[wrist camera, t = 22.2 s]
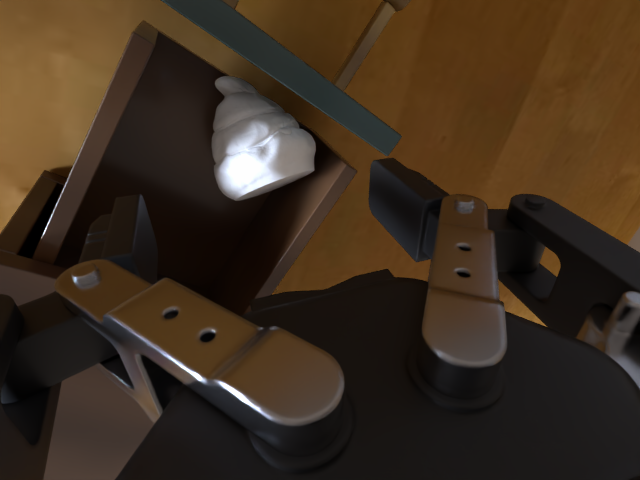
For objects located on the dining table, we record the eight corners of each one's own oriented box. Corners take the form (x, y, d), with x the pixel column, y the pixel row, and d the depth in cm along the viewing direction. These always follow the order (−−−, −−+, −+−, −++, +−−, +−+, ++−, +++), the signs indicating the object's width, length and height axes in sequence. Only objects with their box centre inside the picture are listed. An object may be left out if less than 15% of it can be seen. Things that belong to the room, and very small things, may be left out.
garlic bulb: (229, 102, 24) (300, 57, 21) (265, 194, 24) (339, 162, 21) (157, 96, 19) (237, 36, 16) (204, 210, 19) (289, 171, 17)
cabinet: (44, 169, 22) (-19, 259, 15) (252, 250, 29) (280, 337, 22) (-44, 379, 27) (-123, 524, 20) (152, 403, 34) (147, 516, 27)
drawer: (206, -178, 16) (228, -273, 10) (401, 17, 23) (481, 26, 17) (29, 234, 23) (-20, 319, 17) (222, 293, 29) (235, 369, 24)
